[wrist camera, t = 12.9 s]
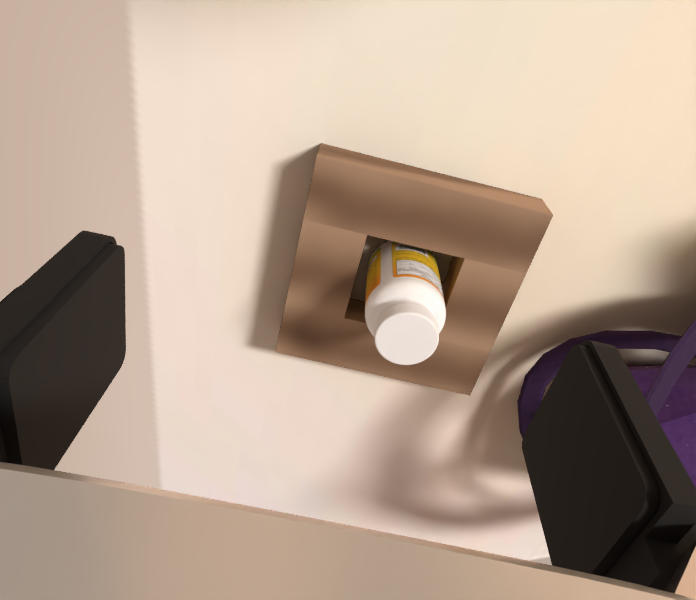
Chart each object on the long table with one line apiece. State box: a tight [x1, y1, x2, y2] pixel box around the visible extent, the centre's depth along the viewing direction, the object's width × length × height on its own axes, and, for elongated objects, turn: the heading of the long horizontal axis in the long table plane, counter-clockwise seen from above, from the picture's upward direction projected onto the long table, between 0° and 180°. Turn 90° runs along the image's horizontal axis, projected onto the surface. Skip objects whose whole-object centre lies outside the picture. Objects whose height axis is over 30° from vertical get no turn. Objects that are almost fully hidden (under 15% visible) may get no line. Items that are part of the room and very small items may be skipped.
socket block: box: [275, 143, 553, 395], centre depth 41 cm, size 16×16×3 cm
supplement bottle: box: [365, 240, 446, 365], centre depth 38 cm, size 5×5×10 cm
